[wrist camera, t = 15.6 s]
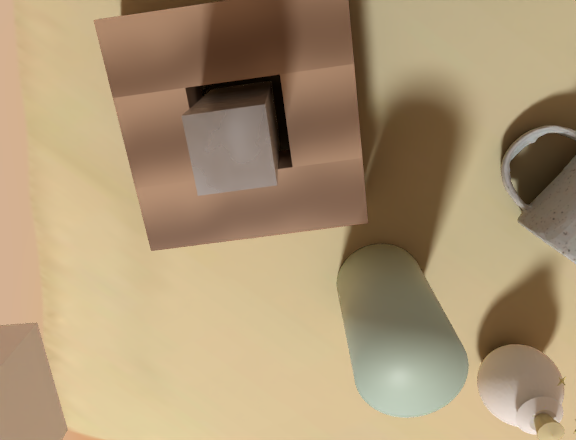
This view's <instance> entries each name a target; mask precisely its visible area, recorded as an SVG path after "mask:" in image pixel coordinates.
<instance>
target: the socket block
mask: <svg viewBox="0 0 576 440" xmlns="http://www.w3.org/2000/svg"><path fill="white" fill-rule="evenodd" d="M94 24H95V28H96V32H97V36H98V40H99V44H100V48H101V52H102V56H103V60H104V64H105V68H106V72H107V76H108V80H109V84H110V88H111V92H112V96H113V100H114V104H115V108H116V112H117V116H118V120H119V124H120V128H121V132H122V136H123V140H124V144H125V148H126V152H127V156H128V160H129V164H130V168H131V172H132V176H133V180H134V184H135V188H136V192H137V196H138V200H139V204H140V208H141V212H142V216H143V220H144V224H145V228H146V232H147V236H148V240H149V244H150V248H151V251H154V250H162V249H170V248H178V247H186V246H194V245H201V244H209V243H217V242H225V241H233V240H240V239H248V238H256V237H264V236H272V235H280V234H287V233H295V232H303V231H311V230H319V229H326V228H334V227H342V226H350V225H358V224H366V223H368V215H367V204H366V192H365V181H364V170H363V158H362V147H361V136H360V124H359V113H358V102H357V91H356V79H355V68H354V57H353V45H352V34H351V23H350V11H349V0H225V1H219V2H212V3H205V4H199V5H192V6H185V7H178V8H172V9H165V10H158V11H151V12H145V13H138V14H131V15H124V16H118V17H111V18H104V19H98V20H94ZM279 74H280V79H281V86H282V93H283V101H284V108H285V115H286V123H287V130H288V137H289V144H290V149H288V150H280V151H279V163H278V181H277V185H276V186H269V187H261V188H253V189H246V190H238V191H231V192H223V193H216V194H208V195H201V196H198V194H197V189H196V184H195V179H194V175H193V170H192V165H191V160H190V155H189V150H188V146H187V141H186V136H185V131H184V126H183V122H182V117H181V116H182V115H183V114H184V113H185V112H186V111H188V110H189V109H190V108H191V107H192V106H193V105H194V104H195V103H197V102H198V101H199V100H200V99H201V98H202V93H201V88H200V86H201V85H208V84H216V83H223V82H230V81H237V80H244V79H251V78H258V77H265V76H272V75H279Z"/></svg>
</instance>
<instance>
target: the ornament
mask: <svg viewBox="0 0 576 440" xmlns="http://www.w3.org/2000/svg"><path fill="white" fill-rule="evenodd" d="M565 378H566V377H564V378H563V379H562V376H561V374H560V372H559V370H558V368H557V366H556V365H555V364H554V362H553V361H552V360H551V359H550V358H549V357H548V356H546V355H545V354H544V353H543V352H541V351H539V350H537V349H535V348H533V347H530V346H527V345H521V344H509V345H505V346H501V347H499V348H497V349H495V350H493V351H492V352H491V353H489V354H488V355H487V356H486V357H485V359H484V360H483V362H482V363H481V365H480V368H479V371H478V376H477V385H478V391H479V394H480V397H481V399H482V401H483V403H484V404H485V406H486V407H487V409H488V410H489V411H490V412H491V413H492V414H493V415H494V416H496V417H497V418H498V419H500V420H501V421H503V422H505V423H507V424H510V425H513V426H517V427H519V428H520V429H521V430H522V431H524V432H526V433H529V434H537V437H538V439H539V440H560V439H561V438H562V437H563V435H564V427H563V426H562V425H561V424H560V421H561V420H562V417H563V408H562V402H563V399H564V385H565V384H564V380H565ZM575 420H576V419H575ZM575 432H576V430H575V431H574V433H575Z"/></svg>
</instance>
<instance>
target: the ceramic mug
mask: <svg viewBox="0 0 576 440" xmlns="http://www.w3.org/2000/svg"><path fill="white" fill-rule="evenodd" d="M546 133H557V134H560V135H563V136H566V137H568V138H571V139H573V140H575V141H576V131H574V130H572V129H570V128H566V127H561V126H551V125H548V126H541V127H538V128H535V129H532V130H530V131H528V132H526V133H525V134H523V135H521V136H520V137H519V138H518V139H517V140H516V141H515V142H514V143H512V145H511V146H510V147H509V148H508V150H507V151H506V153H505V155H504V158H503V160H502V164H501V176H502V181H503V184H504V187H505V189H506V191H507V192H508V194H509V195H510V197H511V198H512V199H513V200H514V202H515V203H516V204H517V205H518V206H519V207H520V208H521V209H522V211H523V212H522V214H521V215H520V216H519V218H518V223H520V224H521V225H522V226H523V227H525V228H526V229H527V230H529V231H530V232H531V233H533V234H534V235H535V236H537V237H538V238H540V239H541V240H543V241H544V242H545V243H546V244H548V245H550V246H551V247H552V248H554V249H555V250H557V251H558V252H559V253H561V254H562V255H564V256H565V257H567V258H568V259H569V260H571V261H572V262H574V263H575V264H576V155H575V156H574V157H573V159H572V160H571V161H570V162H569V164H568V165H567V166H566V167H565V168H564V169H563V171H562V172H561V173H560V174H559V175H558V176H557V177H556V178H555V179H554V180H553V181H552V182H551V183H550V184H549V185H548V186H547V187H546V188H545V189H544V190H543V191H542V192H541V193H540V194H539V195H538V196H537V197H536V198H535V199H534V201H533V202H532V203H530V205H527V204H525V203H524V202H523V201H522V200H521V198H520V197H519V195H518V194H517V192H516V191H515V189H514V187H513V185H512V182H511V177H510V162H511V160H512V159H513V158H514V157H515V156H516V155H517V154H518V153H519V152H520V151H521V150H522V149H523V148H524V147H526V146H527V145H528V144H530V143H535V142H536V140H537V139H538V137H540V136H543V135H545V134H546Z"/></svg>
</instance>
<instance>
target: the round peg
mask: <svg viewBox="0 0 576 440" xmlns="http://www.w3.org/2000/svg"><path fill="white" fill-rule="evenodd" d="M337 291H338V296H339V301H340V306H341V312H342V317H343V322H344V327H345V332H346V338H347V343H348V348H349V353H350V358H351V364H352V369H353V374H354V379H355V384H356V387H357V390H358V392H359V394H360V395H361V397H362V398H363V399H364V401H365V402H367V403H368V404H369V405H370V406H371V407H373V408H374V409H376V410H377V411H379V412H381V413H384V414H387V415H390V416H395V417H404V418H409V417H418V416H423V415H427V414H430V413H432V412H435V411H437V410H439V409H441V408H442V407H444V406H446V405H447V404H448V403H449V402H451V401H452V400H453V399H454V398H455V397H456V396H457V395H458V393H459V392H460V391H461V389H462V387H463V385H464V384H465V381H466V378H467V374H468V358H467V354H466V351H465V349H464V347H463V345H462V343H461V341H460V340H459V338H458V336H457V334H456V332H455V331H454V329H453V327H452V325H451V323H450V321H449V320H448V318H447V316H446V314H445V312H444V311H443V309H442V307H441V305H440V303H439V301H438V300H437V298H436V296H435V294H434V292H433V291H432V289H431V287H430V285H429V283H428V282H427V280H426V278H425V276H424V274H423V272H422V271H421V269H420V267H419V265H418V263H417V262H416V260H415V259H414V258H413V256H412V255H411V254H409V253H408V252H407V251H405V250H404V249H402V248H400V247H398V246H395V245H390V244H373V245H369V246H365V247H363V248H361V249H359V250H357V251H355V252H354V253H353V254H351V255H350V256H349V257H348V258H347V259H346V260H345V262H344V263H343V265H342V266H341V268H340V270H339V273H338V277H337Z"/></svg>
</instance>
